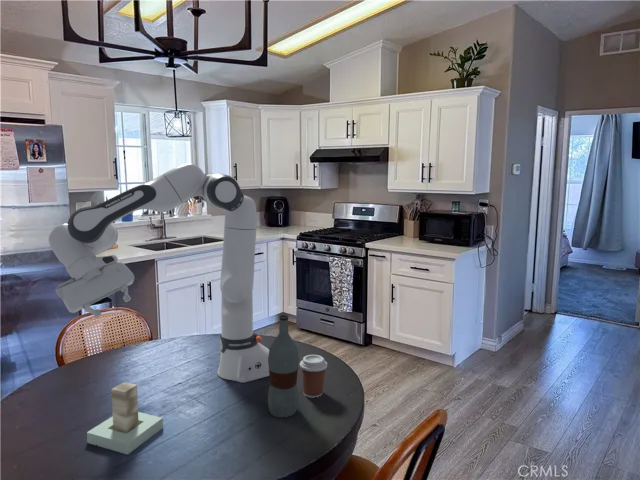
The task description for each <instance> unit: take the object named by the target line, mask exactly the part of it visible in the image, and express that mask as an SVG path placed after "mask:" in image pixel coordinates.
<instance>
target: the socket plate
mask: <svg viewBox="0 0 640 480" xmlns="http://www.w3.org/2000/svg"><path fill="white" fill-rule="evenodd" d="M138 421H139V425H138V426H137V427H135V428H134V429H133V430H131V431H130V432H128V433H127V434H126V433H122V432H119V431H115V430H113V415H112V416H110V417H109V418H108V419H106V420H104V421H103V422H101V423H99V424H98V425H96V426H95V427H93V428H91V429H90V430H88V431H87V432H86V438H87V439H86V441H87V444H89V445H90V444H91V445H93V446H96V445H97V446H96V447H101V448H103V449H107V450H111V451H114V452H117V453H121V454H124V455H127V456H128V455H130V454H131V453H132V452H133V451H134V450H136V449H137V448H138V447H139V446H141V445H142V444H144V443H145V442H146V441H148V440H149V439H151V437H153V436H155V435H156V434H157V433H158V432H160V431H161V430H162V429H163V428H164V418H163V417H161V416H157V415H153V414H150V413H145V412H141V411H138Z"/></svg>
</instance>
